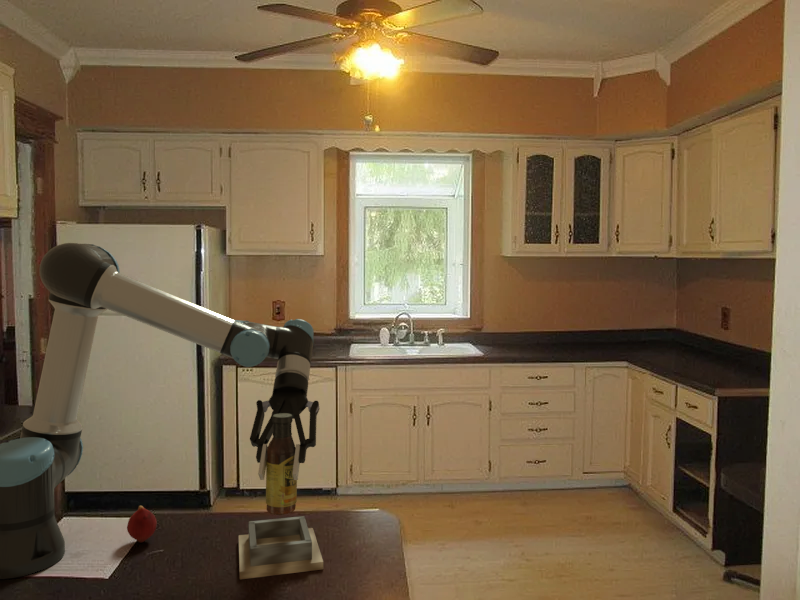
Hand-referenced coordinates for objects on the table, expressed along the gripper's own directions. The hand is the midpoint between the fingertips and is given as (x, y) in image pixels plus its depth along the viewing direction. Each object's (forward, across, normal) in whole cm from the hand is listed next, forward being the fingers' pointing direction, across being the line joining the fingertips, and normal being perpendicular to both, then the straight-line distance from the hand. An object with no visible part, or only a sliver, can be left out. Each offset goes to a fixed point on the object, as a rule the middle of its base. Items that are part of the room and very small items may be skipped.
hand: (278, 476), depth 121 cm
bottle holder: (+10, 0, -15) cm, 18 cm away
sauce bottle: (+3, 0, -9) cm, 9 cm away
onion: (+6, +31, -19) cm, 37 cm away
